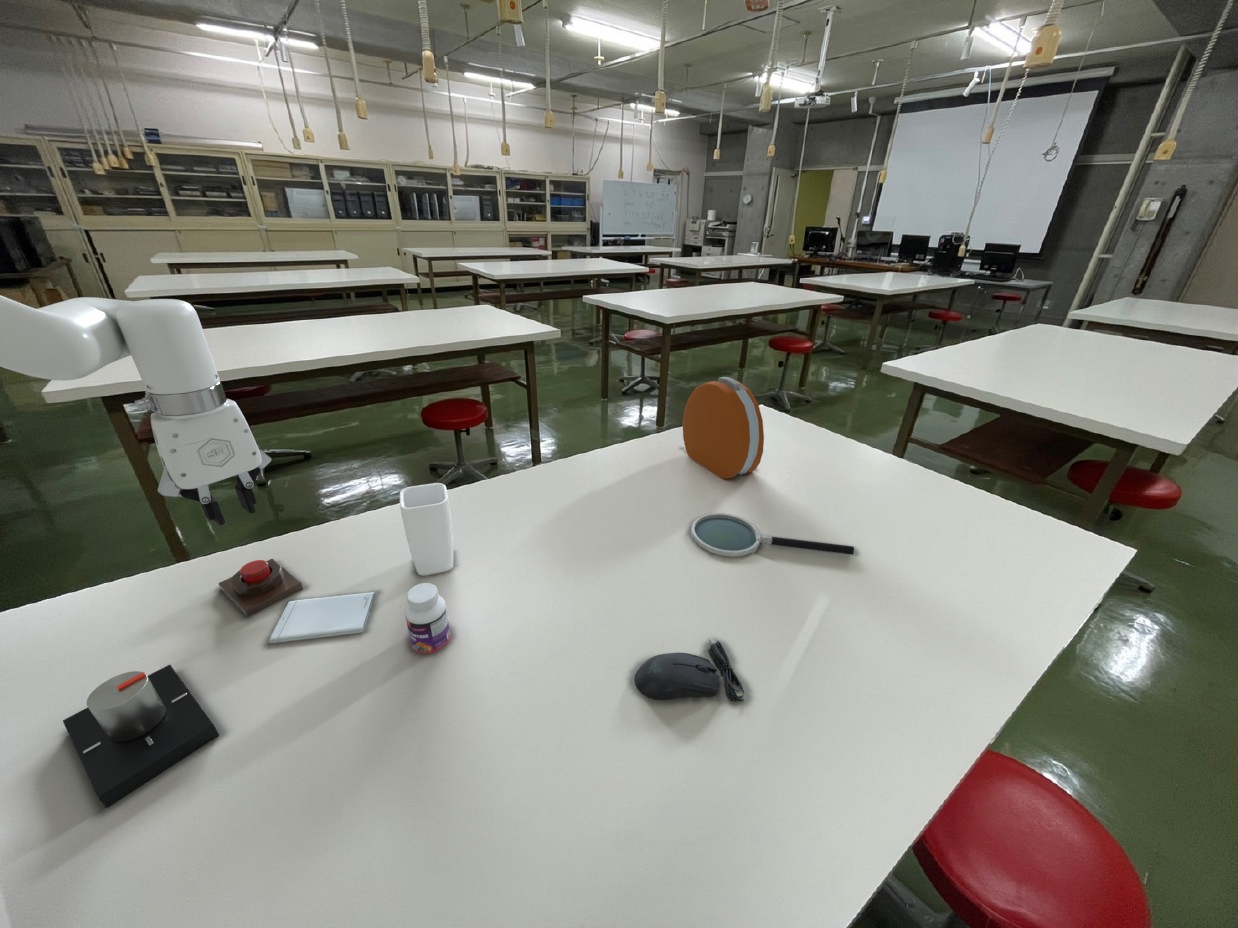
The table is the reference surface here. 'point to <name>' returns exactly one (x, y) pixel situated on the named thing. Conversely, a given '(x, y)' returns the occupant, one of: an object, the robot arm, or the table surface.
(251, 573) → the button
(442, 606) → the pill bottle
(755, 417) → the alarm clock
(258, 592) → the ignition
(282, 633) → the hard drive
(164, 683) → the rotary dial switch
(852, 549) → the magnifying glass
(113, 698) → the knob
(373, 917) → the table surface
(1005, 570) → the table surface
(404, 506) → the cup
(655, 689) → the computer mouse
